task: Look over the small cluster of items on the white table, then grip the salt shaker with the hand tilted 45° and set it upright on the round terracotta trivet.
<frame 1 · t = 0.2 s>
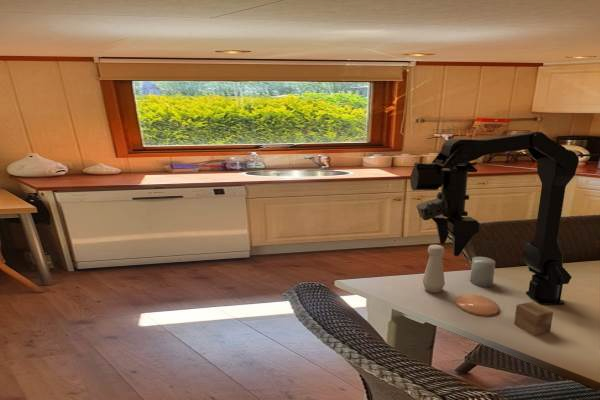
hand: (448, 249, 93), 14 cm above the table, tool pointing down, fingers open, 9 cm apart
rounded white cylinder: (481, 282, 106), on the table
walnut block: (531, 328, 82), on the table
terracotta trivet: (476, 305, 92), on the table
salt shaker: (432, 290, 101), on the table
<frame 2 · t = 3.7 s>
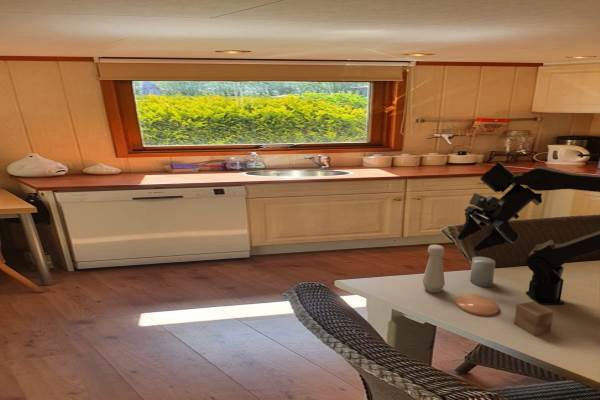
hand: (466, 244, 99), 14 cm above the table, tool tilted 45°, fingers open, 9 cm apart
nothing on the table moved.
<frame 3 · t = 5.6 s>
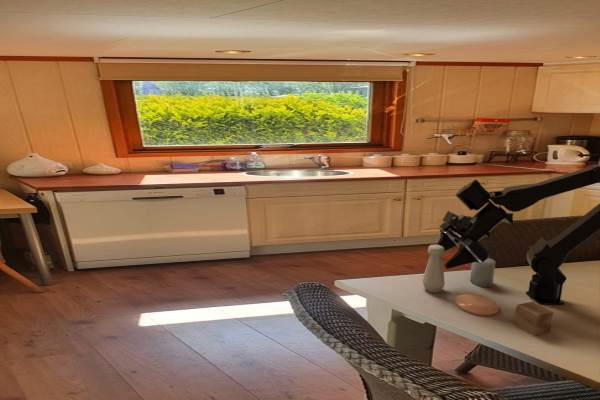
hand: (438, 260, 100), 9 cm above the table, tool tilted 45°, fingers open, 9 cm apart
nothing on the table moved.
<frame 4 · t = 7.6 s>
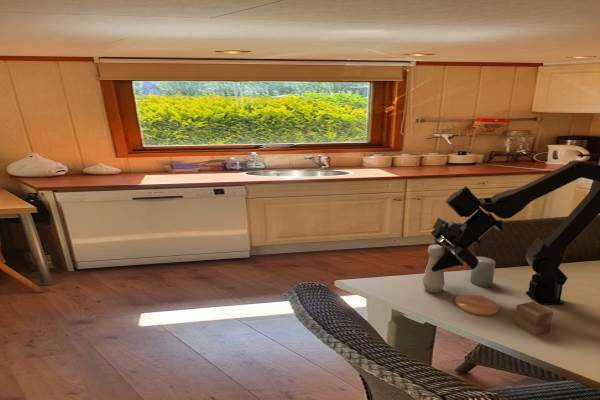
hand: (429, 267, 100), 7 cm above the table, tool tilted 45°, fingers closed on salt shaker, 3 cm apart
salt shaker: (432, 290, 101), on the table, touching gripper
everything else where it was.
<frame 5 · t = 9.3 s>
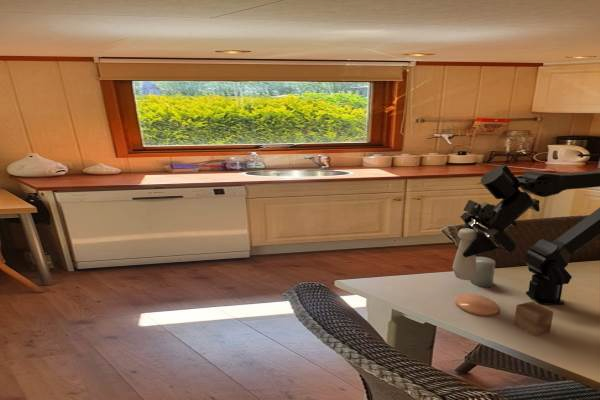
hand: (460, 253, 93), 13 cm above the table, tool tilted 45°, fingers closed on salt shaker, 3 cm apart
salt shaker: (463, 277, 95), point 6 cm above the table, touching gripper
everything else where it was.
when the fingers open (8 cm above the table, at t = 11.1 s): salt shaker stays where it is, resting on terracotta trivet.
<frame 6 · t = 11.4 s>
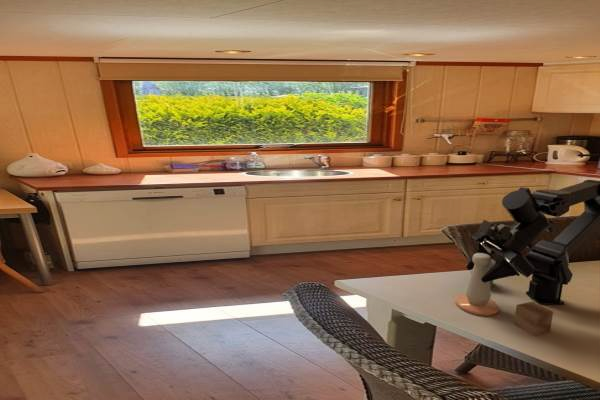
hand: (474, 274, 90), 9 cm above the table, tool tilted 45°, fingers open, 7 cm apart
salt shaker: (477, 303, 92), point 1 cm above the table, touching terracotta trivet
everything else where it was.
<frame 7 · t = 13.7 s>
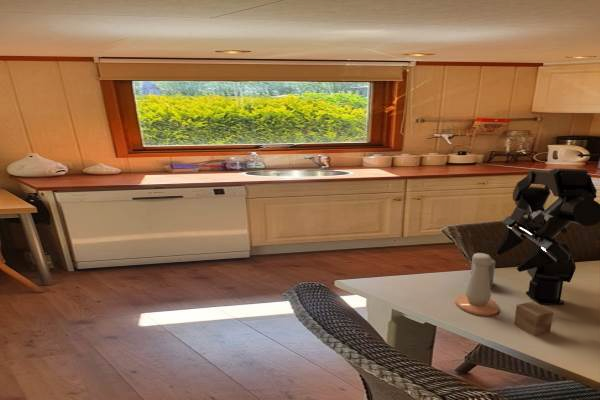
hand: (507, 261, 91), 12 cm above the table, tool tilted 40°, fingers open, 9 cm apart
nothing on the table moved.
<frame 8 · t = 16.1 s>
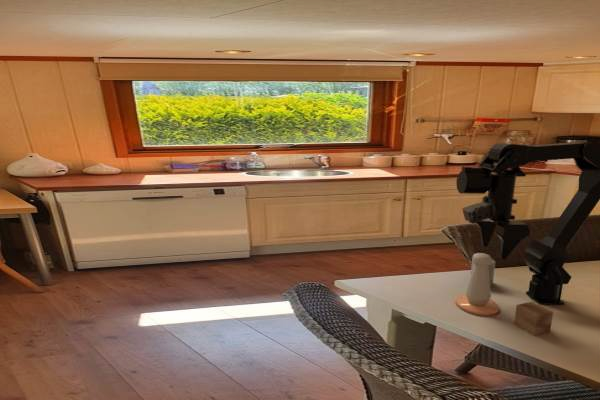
hand: (493, 252, 93), 13 cm above the table, tool pointing down, fingers open, 9 cm apart
nothing on the table moved.
at the end: salt shaker inside the target area on the terracotta trivet (0.4 cm from its centre), point 0.6 cm above the terracotta trivet's base; salt shaker tilted 0°; the gripper is holding nothing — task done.
